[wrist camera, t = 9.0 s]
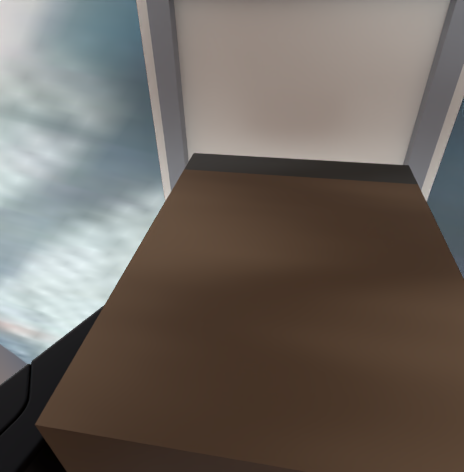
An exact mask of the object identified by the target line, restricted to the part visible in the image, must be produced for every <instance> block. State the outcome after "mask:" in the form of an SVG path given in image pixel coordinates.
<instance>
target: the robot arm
mask: <svg viewBox="0 0 464 472" xmlns="http://www.w3.org/2000/svg"><path fill="white" fill-rule="evenodd" d="M103 307H104V306H103ZM103 307H101V308H100V309H99V310H97V311H96V312H95V313H94V314H92V315H91V316H90V317H88V318H87V319H86V320H84V321H83V322H82V323H81V324H79V325H78V326H77V327H75V328H74V329H73V330H71V331H70V332H69V333H68V334H66V335H65V336H64V337H62V338H61V339H60V340H58V341H57V342H56V343H55V344H53V345H52V346H51V347H49V348H48V349H47V350H45V351H44V352H43V353H42V354H40V355H39V356H38V357H36V358H35V359H34V360H33V361H32V362H31V364H27V365H26V366H24V367H23V368H22V369H21V370H19V371H18V372H17V373H15V374H14V375H13V376H11V377H10V378H9V379H8V380H6V381H5V382H4V383H2V384H1V385H0V472H67V471H66V470H65V468H64V467H63V465H62V464H61V463H60V461H59V460H58V458H57V457H56V455H55V454H54V452H53V451H52V449H51V448H50V446H49V445H48V443H47V442H46V440H45V439H44V438H43V436H42V435H41V433H40V432H39V430H38V429H37V427H36V426H35V423H36V422H37V420H38V418H39V417H40V415H41V413H42V411H43V410H44V408H45V406H46V405H47V403H48V401H49V399H50V398H51V396H52V394H53V393H54V391H55V389H56V387H57V386H58V384H59V382H60V381H61V379H62V377H63V376H64V374H65V372H66V370H67V369H68V367H69V365H70V364H71V362H72V360H73V358H74V357H75V355H76V353H77V352H78V350H79V348H80V346H81V345H82V343H83V341H84V340H85V338H86V336H87V334H88V333H89V331H90V329H91V328H92V326H93V324H94V323H95V321H96V319H97V317H98V316H99V314H100V312H101V311H102V309H103Z"/></svg>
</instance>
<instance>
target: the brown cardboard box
mask: <svg viewBox="0 0 464 472" xmlns="http://www.w3.org/2000/svg"><path fill="white" fill-rule="evenodd" d="M35 426H36V427H37V429H38V430H39V432H40V433H41V435H42V436H43V438H44V439H45V440H46V442H47V443H48V445H49V446H50V448H51V449H52V451H53V452H54V454H55V455H56V457H57V458H58V460H59V461H60V463H61V464H62V465H63V467H64V468H65V470H66V471H67V472H464V279H463V277H462V275H461V273H460V271H459V268H458V266H457V264H456V262H455V260H454V258H453V256H452V254H451V252H450V250H449V248H448V246H447V244H446V241H445V239H444V237H443V235H442V233H441V231H440V229H439V227H438V225H437V223H436V221H435V219H434V217H433V214H432V212H431V210H430V208H429V206H428V204H427V202H426V200H425V198H424V196H423V194H422V192H421V190H420V187H419V185H418V183H417V181H416V179H415V177H414V175H413V173H412V171H411V169H410V167H409V165H394V164H377V163H360V162H342V161H325V160H308V159H290V158H273V157H256V156H238V155H221V154H203V153H193V155H192V157H191V158H190V160H189V162H188V164H187V165H186V167H185V169H184V170H183V172H182V174H181V175H180V177H179V179H178V181H177V182H176V184H175V186H174V187H173V189H172V191H171V193H170V194H169V196H168V198H167V199H166V201H165V203H164V205H163V206H162V208H161V210H160V211H159V213H158V215H157V217H156V218H155V220H154V222H153V223H152V225H151V227H150V228H149V230H148V232H147V234H146V235H145V237H144V239H143V240H142V242H141V244H140V246H139V247H138V249H137V251H136V252H135V254H134V256H133V258H132V259H131V261H130V263H129V264H128V266H127V268H126V270H125V271H124V273H123V275H122V276H121V278H120V280H119V281H118V283H117V285H116V287H115V288H114V290H113V292H112V293H111V295H110V297H109V299H108V300H107V302H106V304H105V305H104V307H103V309H102V311H101V312H100V314H99V316H98V317H97V319H96V321H95V323H94V324H93V326H92V328H91V329H90V331H89V333H88V334H87V336H86V338H85V340H84V341H83V343H82V345H81V346H80V348H79V350H78V352H77V353H76V355H75V357H74V358H73V360H72V362H71V364H70V365H69V367H68V369H67V370H66V372H65V374H64V376H63V377H62V379H61V381H60V382H59V384H58V386H57V387H56V389H55V391H54V393H53V394H52V396H51V398H50V399H49V401H48V403H47V405H46V406H45V408H44V410H43V411H42V413H41V415H40V417H39V418H38V420H37V422H36V423H35Z"/></svg>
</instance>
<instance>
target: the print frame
mask: <svg viewBox="0 0 464 472" xmlns="http://www.w3.org/2000/svg"><path fill="white" fill-rule="evenodd" d="M136 3H137V10H138V17H139V24H140V31H141V37H142V44H143V51H144V58H145V65H146V72H147V79H148V86H149V93H150V100H151V107H152V114H153V121H154V127H155V134H156V141H157V148H158V155H159V162H160V169H161V176H162V183H163V190H164V197H165V201H166V199H167V198H168V196H169V194H170V193H171V191H172V189H173V187H174V186H175V184H176V182H177V181H178V179H179V177H180V175H181V174H182V172H183V170H184V169H185V167H186V165H187V164H188V162H189V160H190V158H191V157H192V155H193V153H203V154H221V155H238V156H256V157H273V158H290V159H308V160H325V161H342V162H360V163H377V164H394V165H409V167H410V169H411V171H412V173H413V175H414V177H415V179H416V181H417V183H418V185H419V187H420V190H421V192H422V194H423V196H424V198H425V200H426V202H427V199H428V196H429V193H430V190H431V188H432V185H433V182H434V179H435V176H436V173H437V171H438V168H439V165H440V162H441V159H442V157H443V154H444V151H445V148H446V145H447V142H448V140H449V137H450V134H451V131H452V128H453V125H454V123H455V120H456V117H457V114H458V111H459V109H460V106H461V103H462V100H463V97H464V0H136Z"/></svg>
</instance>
